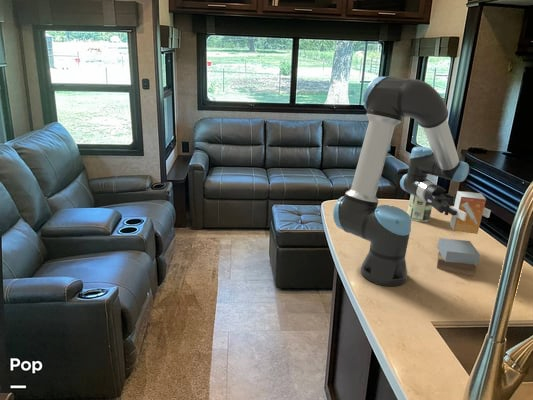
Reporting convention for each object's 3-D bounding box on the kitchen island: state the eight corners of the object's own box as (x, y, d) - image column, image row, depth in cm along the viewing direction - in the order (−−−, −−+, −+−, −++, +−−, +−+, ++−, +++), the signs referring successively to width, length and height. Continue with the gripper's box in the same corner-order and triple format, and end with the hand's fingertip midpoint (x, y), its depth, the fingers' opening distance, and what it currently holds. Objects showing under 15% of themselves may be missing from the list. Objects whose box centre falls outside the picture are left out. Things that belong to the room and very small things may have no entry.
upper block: (477, 264, 146) (480, 254, 145) (444, 261, 147) (447, 251, 146) (467, 250, 156) (469, 241, 155) (436, 247, 158) (439, 237, 156)
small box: (453, 231, 146) (460, 196, 141) (449, 224, 152) (456, 190, 147) (477, 234, 145) (486, 199, 140) (473, 227, 150) (481, 193, 146)
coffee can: (425, 214, 199) (430, 185, 195) (432, 222, 190) (439, 193, 185) (403, 212, 199) (408, 184, 195) (410, 221, 190) (415, 191, 185)
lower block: (473, 277, 146) (475, 267, 144) (436, 269, 150) (438, 259, 149) (471, 262, 156) (474, 253, 155) (437, 255, 160) (439, 246, 159)
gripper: (452, 200, 167) (499, 222, 147) (406, 205, 159) (448, 229, 140) (456, 182, 164) (504, 202, 145) (409, 186, 156) (453, 208, 137)
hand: (477, 215), depth 142 cm, fingers closed on small box, 10 cm apart
